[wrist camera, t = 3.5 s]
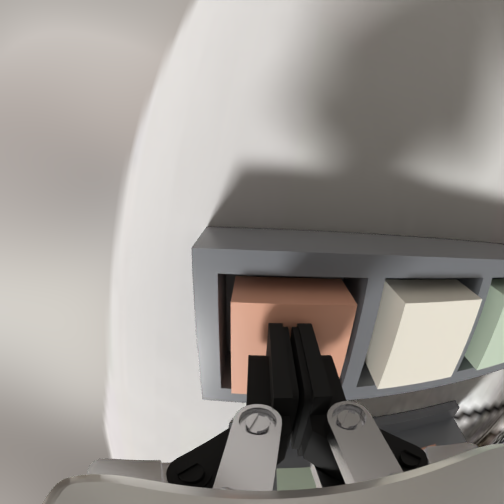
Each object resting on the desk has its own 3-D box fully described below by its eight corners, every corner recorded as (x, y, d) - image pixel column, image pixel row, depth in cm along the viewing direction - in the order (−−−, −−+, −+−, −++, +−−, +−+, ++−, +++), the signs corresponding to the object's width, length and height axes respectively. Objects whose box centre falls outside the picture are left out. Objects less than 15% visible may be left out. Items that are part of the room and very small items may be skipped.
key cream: (456, 279, 13) (482, 299, 11) (432, 351, 14) (451, 376, 12) (383, 279, 13) (405, 303, 11) (363, 359, 14) (377, 389, 12)
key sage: (522, 277, 13) (545, 292, 10) (500, 339, 14) (518, 357, 12) (481, 278, 13) (506, 297, 10) (457, 347, 14) (476, 370, 12)
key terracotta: (341, 278, 13) (357, 304, 11) (325, 360, 14) (335, 393, 12) (235, 275, 13) (230, 302, 11) (235, 359, 15) (231, 393, 12)
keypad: (521, 245, 14) (614, 301, 5) (445, 425, 20) (481, 497, 10) (206, 226, 14) (122, 351, 5) (218, 448, 20) (205, 550, 11)
